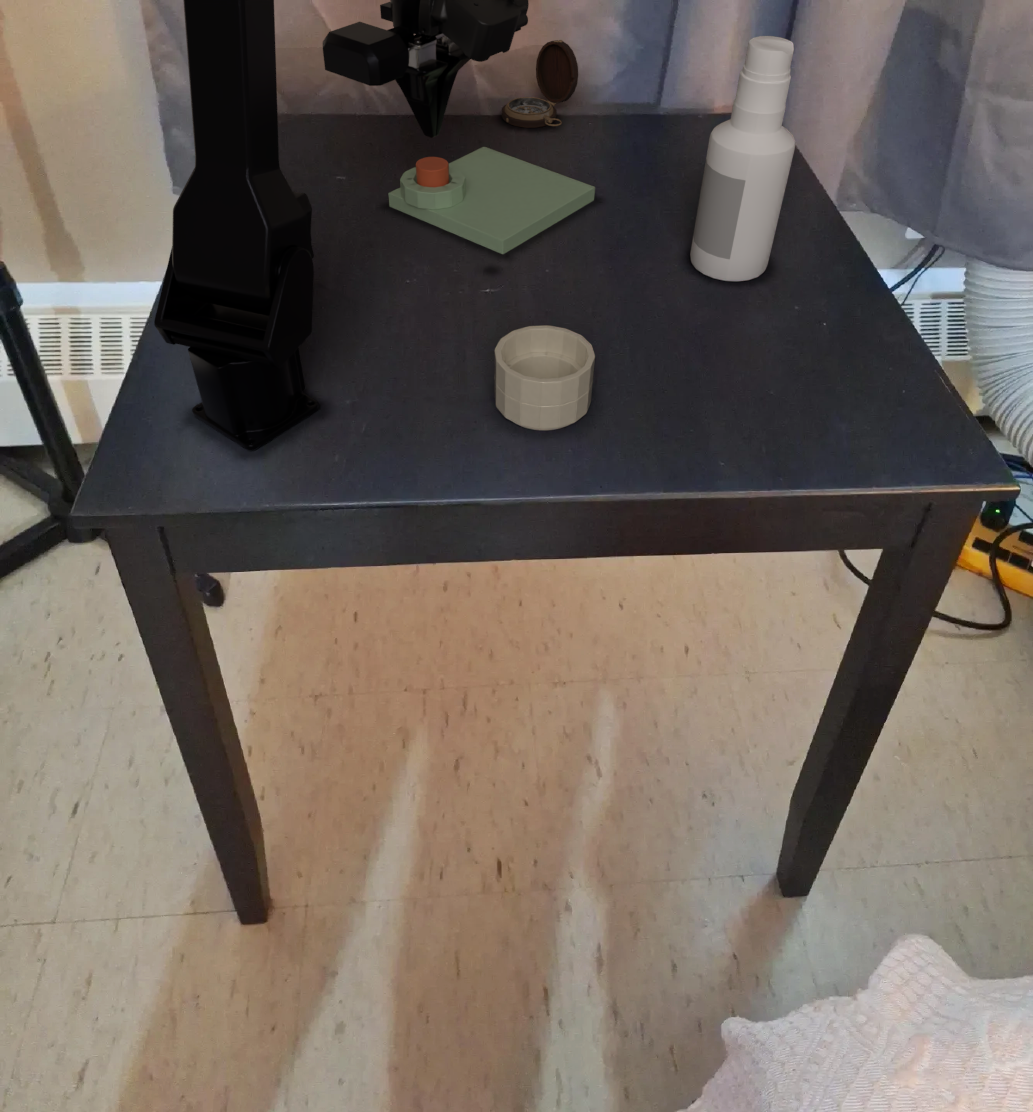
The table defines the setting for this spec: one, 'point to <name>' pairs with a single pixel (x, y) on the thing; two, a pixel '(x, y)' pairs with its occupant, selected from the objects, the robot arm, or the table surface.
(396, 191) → the scale
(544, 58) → the compass
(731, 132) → the white bottle
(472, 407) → the table surface
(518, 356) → the bowl
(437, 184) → the button
